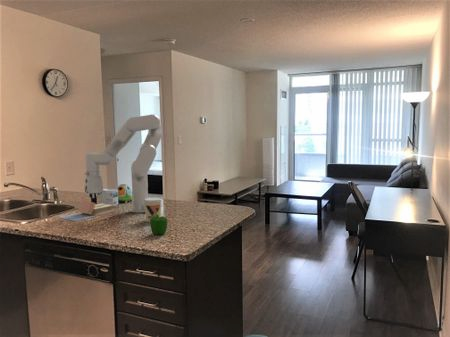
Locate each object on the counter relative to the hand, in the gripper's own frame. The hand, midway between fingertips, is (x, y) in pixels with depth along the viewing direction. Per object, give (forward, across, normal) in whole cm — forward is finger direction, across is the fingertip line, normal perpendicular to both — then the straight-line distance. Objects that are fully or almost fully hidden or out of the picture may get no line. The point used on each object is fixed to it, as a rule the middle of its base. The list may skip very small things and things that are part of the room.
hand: (94, 204), depth 232 cm
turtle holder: (+6, +37, +17) cm, 41 cm away
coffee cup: (+6, +7, -42) cm, 43 cm away
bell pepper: (+6, -10, -64) cm, 65 cm away
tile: (+2, -4, 0) cm, 4 cm away
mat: (+6, -12, 0) cm, 13 cm away
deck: (+6, +3, 0) cm, 6 cm away
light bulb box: (+6, +21, +13) cm, 25 cm away
